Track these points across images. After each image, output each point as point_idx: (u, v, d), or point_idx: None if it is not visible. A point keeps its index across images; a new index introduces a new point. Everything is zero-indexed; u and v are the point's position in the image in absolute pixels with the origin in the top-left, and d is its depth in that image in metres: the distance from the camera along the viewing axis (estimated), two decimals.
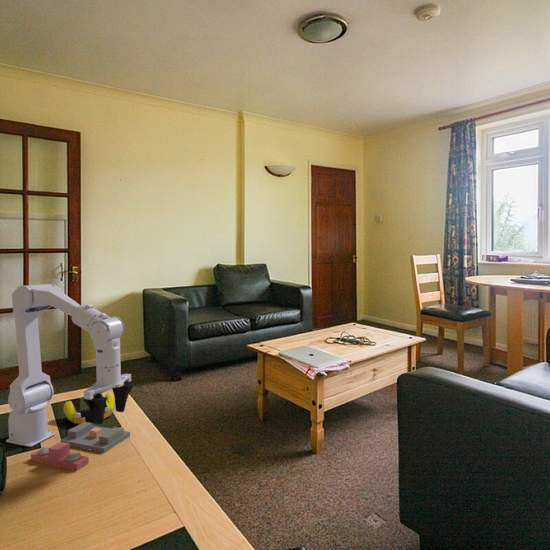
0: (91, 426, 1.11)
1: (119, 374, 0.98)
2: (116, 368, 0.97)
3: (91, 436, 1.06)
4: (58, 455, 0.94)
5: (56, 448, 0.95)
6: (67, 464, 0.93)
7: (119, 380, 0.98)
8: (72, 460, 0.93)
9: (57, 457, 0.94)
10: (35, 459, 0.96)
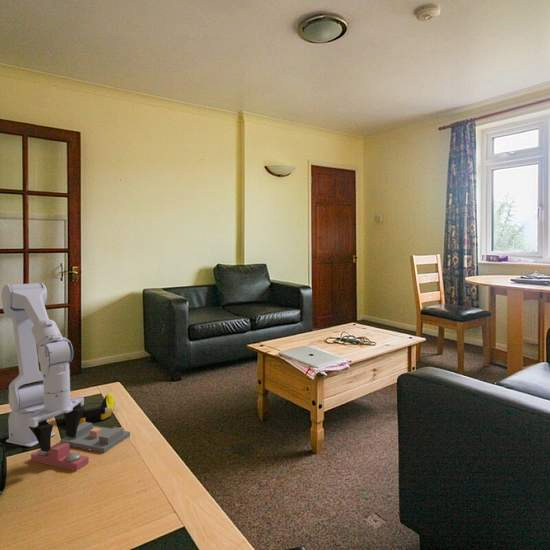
0: (91, 426, 1.11)
1: (68, 399, 0.95)
2: (64, 393, 0.94)
3: (91, 436, 1.06)
4: (58, 455, 0.94)
5: (56, 448, 0.95)
6: (67, 464, 0.93)
7: (68, 405, 0.95)
8: (72, 460, 0.93)
9: (57, 457, 0.94)
10: (35, 459, 0.96)
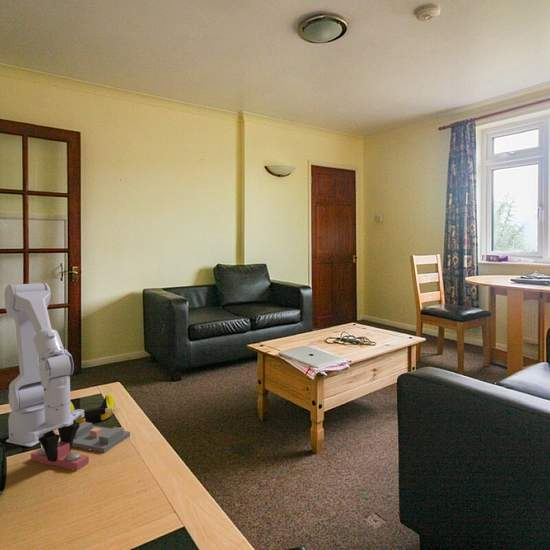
0: (91, 426, 1.11)
1: (68, 412, 0.95)
2: (65, 406, 0.94)
3: (91, 436, 1.06)
4: (58, 454, 0.94)
5: None
6: (67, 463, 0.93)
7: (68, 418, 0.95)
8: (72, 459, 0.93)
9: (57, 456, 0.94)
10: (35, 458, 0.96)
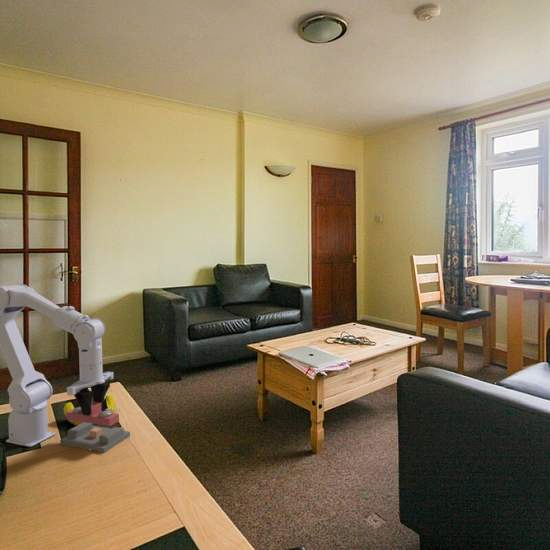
0: (91, 426, 1.11)
1: (101, 372, 1.05)
2: (98, 366, 1.04)
3: (91, 436, 1.06)
4: (92, 412, 1.04)
5: None
6: (100, 419, 1.03)
7: (101, 377, 1.05)
8: (104, 416, 1.03)
9: (91, 413, 1.04)
10: (70, 416, 1.06)
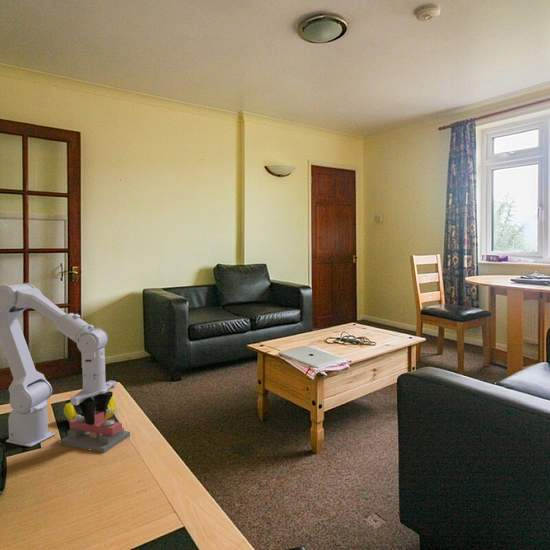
0: None
1: (104, 381, 1.06)
2: (101, 376, 1.05)
3: (91, 436, 1.06)
4: (95, 421, 1.05)
5: None
6: (103, 428, 1.04)
7: (104, 387, 1.06)
8: (108, 425, 1.04)
9: (94, 423, 1.05)
10: (73, 426, 1.07)
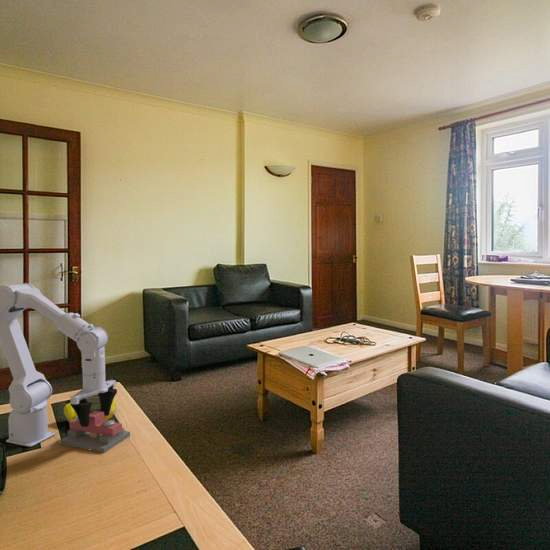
0: None
1: (104, 381, 1.06)
2: (101, 375, 1.05)
3: (91, 436, 1.06)
4: (95, 421, 1.05)
5: (93, 415, 1.06)
6: (103, 429, 1.04)
7: (104, 386, 1.06)
8: (108, 425, 1.04)
9: (94, 423, 1.05)
10: (73, 426, 1.07)
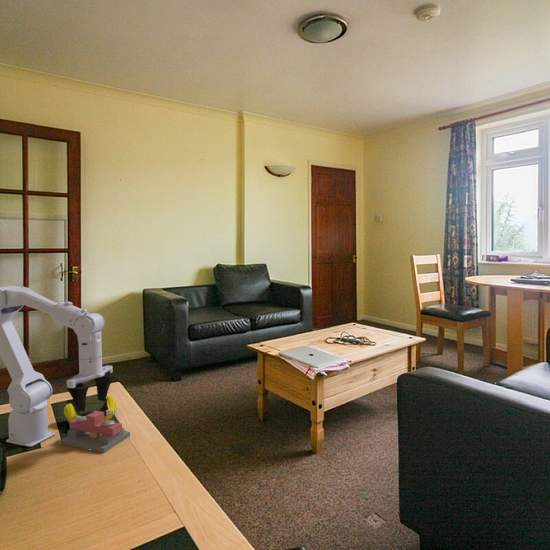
0: None
1: (100, 365, 1.06)
2: (97, 359, 1.04)
3: (91, 436, 1.06)
4: (95, 421, 1.05)
5: (93, 415, 1.06)
6: (103, 429, 1.04)
7: (100, 371, 1.06)
8: (108, 425, 1.04)
9: (94, 423, 1.05)
10: (73, 426, 1.07)
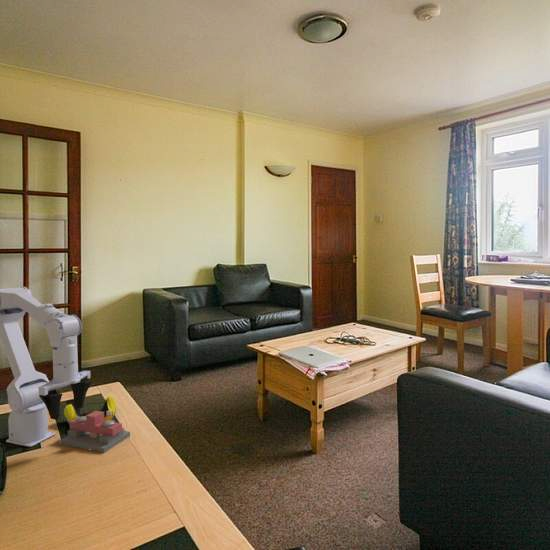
0: None
1: (76, 371, 1.00)
2: (72, 365, 0.99)
3: (91, 436, 1.06)
4: (95, 421, 1.05)
5: (93, 415, 1.06)
6: (103, 429, 1.04)
7: (76, 377, 1.00)
8: (108, 425, 1.04)
9: (94, 423, 1.05)
10: (73, 426, 1.07)
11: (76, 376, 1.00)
